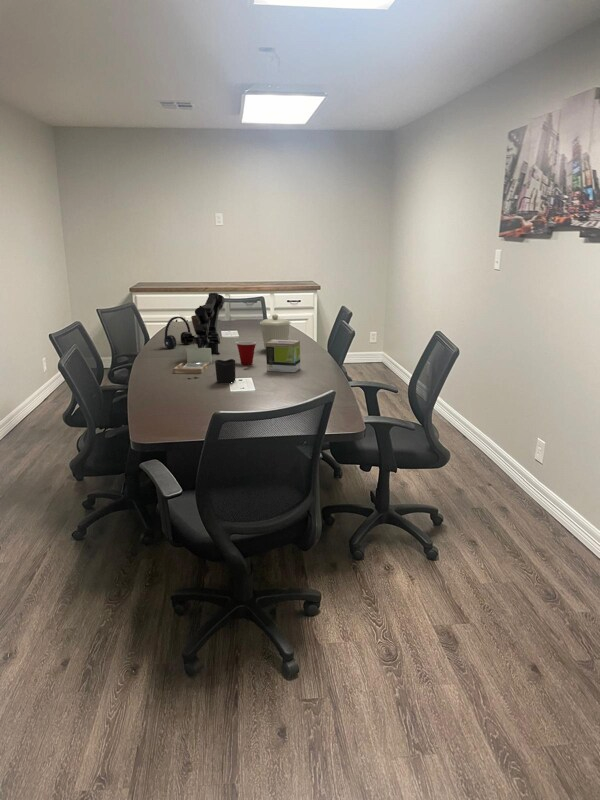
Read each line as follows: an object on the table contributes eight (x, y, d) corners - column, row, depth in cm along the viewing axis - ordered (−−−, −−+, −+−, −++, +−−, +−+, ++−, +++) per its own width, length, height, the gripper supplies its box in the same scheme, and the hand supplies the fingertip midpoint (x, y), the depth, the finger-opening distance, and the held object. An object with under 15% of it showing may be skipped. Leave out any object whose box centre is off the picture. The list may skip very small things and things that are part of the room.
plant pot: (214, 343, 347) (212, 317, 342) (190, 343, 347) (188, 318, 342) (217, 338, 361) (216, 314, 356) (195, 338, 361) (193, 314, 357)
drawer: (188, 363, 292) (186, 347, 290) (212, 364, 291) (211, 348, 288) (180, 370, 279) (178, 353, 277) (205, 370, 278) (204, 353, 275)
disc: (199, 363, 289) (199, 360, 289) (206, 366, 283) (206, 363, 283) (185, 365, 285) (185, 362, 285) (192, 368, 279) (191, 365, 278)
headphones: (171, 349, 329) (168, 319, 323) (162, 348, 332) (160, 318, 327) (194, 344, 345) (192, 315, 340) (186, 343, 349) (184, 314, 343)
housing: (181, 368, 284) (181, 362, 283) (208, 369, 282) (208, 362, 281) (173, 375, 271) (173, 369, 270) (201, 375, 269) (200, 369, 268)
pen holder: (227, 385, 252) (226, 364, 249) (211, 382, 257) (210, 361, 254) (240, 380, 260) (239, 360, 257) (224, 378, 265) (223, 357, 262)
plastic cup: (260, 362, 294) (260, 340, 290) (250, 367, 285) (250, 344, 281) (243, 361, 298) (242, 339, 295) (233, 365, 289) (231, 343, 285)
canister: (286, 346, 336) (285, 311, 329) (295, 351, 319) (294, 315, 313) (257, 348, 330) (256, 313, 324) (265, 354, 314) (263, 317, 307)
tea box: (300, 368, 281) (300, 340, 277) (294, 373, 272) (293, 343, 268) (273, 366, 286) (272, 338, 281) (266, 371, 277) (265, 342, 272)
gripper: (182, 317, 291) (178, 342, 284) (217, 318, 289) (213, 342, 282) (188, 330, 301) (183, 354, 294) (221, 330, 299) (217, 354, 292)
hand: (199, 351), depth 290 cm, fingers closed
